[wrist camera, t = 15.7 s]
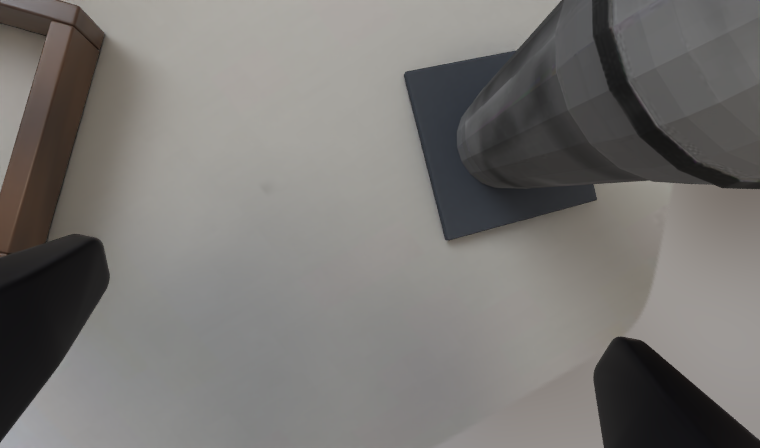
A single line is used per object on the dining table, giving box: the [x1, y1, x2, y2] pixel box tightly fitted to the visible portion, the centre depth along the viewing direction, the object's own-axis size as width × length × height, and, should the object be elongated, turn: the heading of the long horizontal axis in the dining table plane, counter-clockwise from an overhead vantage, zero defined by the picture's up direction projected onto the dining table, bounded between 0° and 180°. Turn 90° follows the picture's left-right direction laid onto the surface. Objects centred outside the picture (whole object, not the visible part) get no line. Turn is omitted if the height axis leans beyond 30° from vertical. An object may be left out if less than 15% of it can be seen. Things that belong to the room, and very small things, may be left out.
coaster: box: [404, 51, 597, 240], centre depth 21 cm, size 8×8×1 cm
